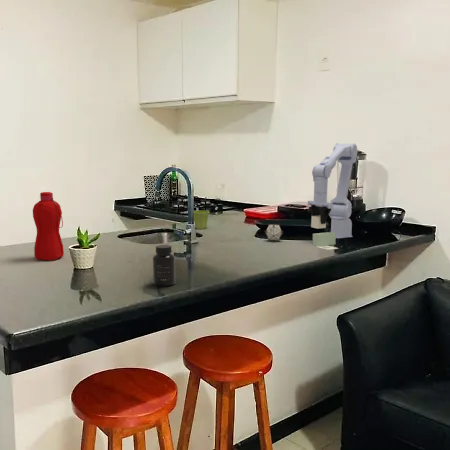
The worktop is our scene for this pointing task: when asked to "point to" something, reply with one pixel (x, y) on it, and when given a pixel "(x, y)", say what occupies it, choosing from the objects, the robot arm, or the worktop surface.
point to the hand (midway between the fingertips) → (319, 223)
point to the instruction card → (327, 247)
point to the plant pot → (201, 219)
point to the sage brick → (324, 239)
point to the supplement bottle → (163, 266)
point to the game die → (273, 232)
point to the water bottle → (47, 228)
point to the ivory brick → (317, 222)
